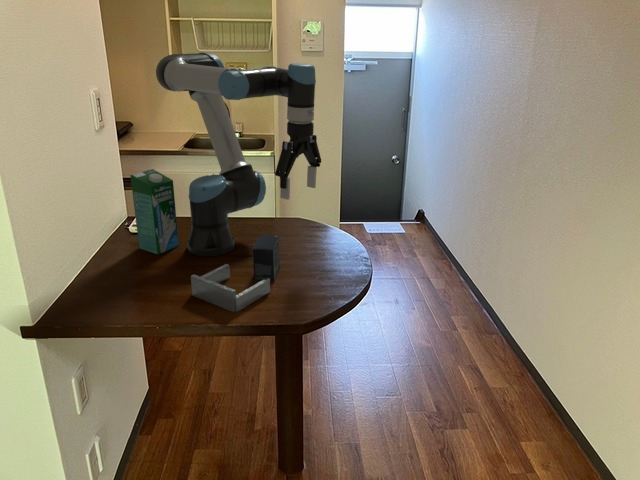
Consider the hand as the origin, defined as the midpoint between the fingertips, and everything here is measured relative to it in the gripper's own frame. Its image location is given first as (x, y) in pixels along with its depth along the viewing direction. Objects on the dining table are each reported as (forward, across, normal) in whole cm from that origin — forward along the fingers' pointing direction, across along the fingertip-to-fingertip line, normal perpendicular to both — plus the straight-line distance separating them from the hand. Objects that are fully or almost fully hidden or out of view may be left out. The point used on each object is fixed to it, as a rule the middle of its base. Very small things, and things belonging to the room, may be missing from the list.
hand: (298, 192), depth 158 cm
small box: (+23, -13, +2) cm, 26 cm away
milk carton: (+24, -18, +43) cm, 52 cm away
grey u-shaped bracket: (+22, -28, +2) cm, 36 cm away
